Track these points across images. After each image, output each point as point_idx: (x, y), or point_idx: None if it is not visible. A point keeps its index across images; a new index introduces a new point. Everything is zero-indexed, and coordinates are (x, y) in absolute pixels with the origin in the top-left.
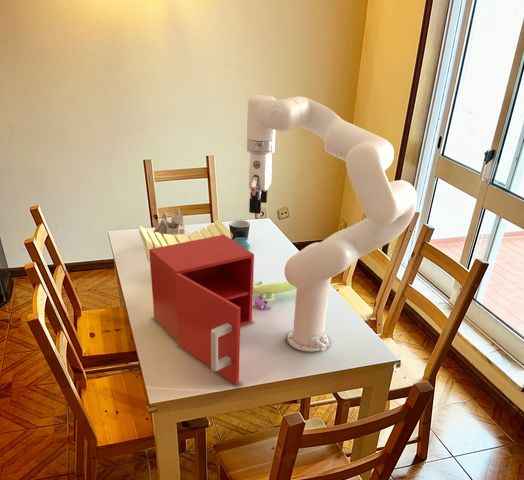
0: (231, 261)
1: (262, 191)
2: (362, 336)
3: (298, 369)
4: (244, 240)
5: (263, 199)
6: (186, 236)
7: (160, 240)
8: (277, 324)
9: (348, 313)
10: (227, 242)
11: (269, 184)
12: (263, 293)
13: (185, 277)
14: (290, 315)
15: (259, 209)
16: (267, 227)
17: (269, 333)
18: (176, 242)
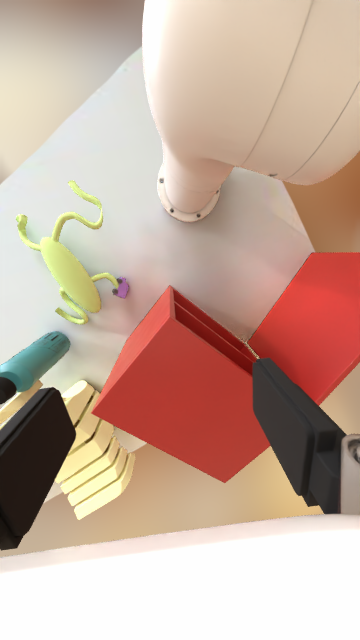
0: (216, 350)
1: (14, 485)
2: (137, 82)
3: (265, 182)
4: (12, 374)
5: (52, 416)
6: None
7: (90, 476)
8: (158, 248)
9: (66, 129)
10: (131, 391)
11: (16, 619)
12: (97, 292)
13: (324, 395)
14: (123, 236)
15: (280, 375)
16: None
17: (187, 252)
18: (72, 457)
